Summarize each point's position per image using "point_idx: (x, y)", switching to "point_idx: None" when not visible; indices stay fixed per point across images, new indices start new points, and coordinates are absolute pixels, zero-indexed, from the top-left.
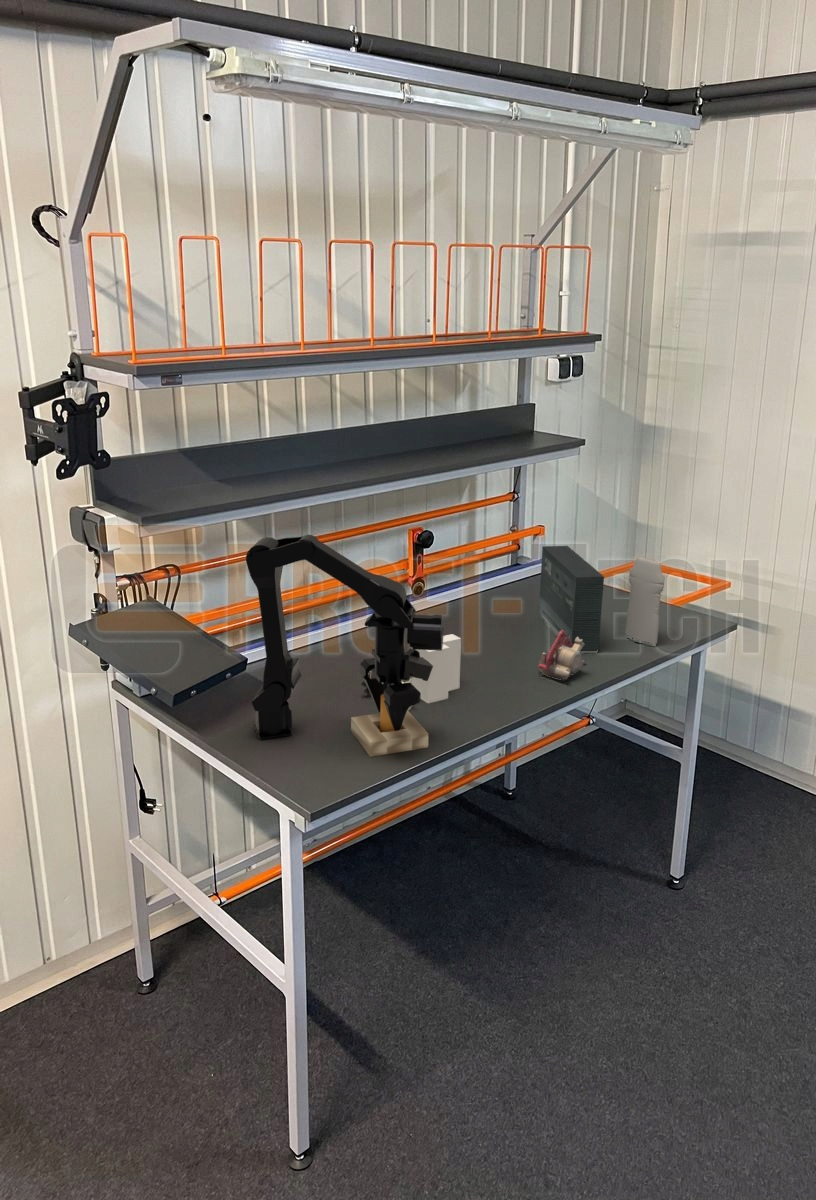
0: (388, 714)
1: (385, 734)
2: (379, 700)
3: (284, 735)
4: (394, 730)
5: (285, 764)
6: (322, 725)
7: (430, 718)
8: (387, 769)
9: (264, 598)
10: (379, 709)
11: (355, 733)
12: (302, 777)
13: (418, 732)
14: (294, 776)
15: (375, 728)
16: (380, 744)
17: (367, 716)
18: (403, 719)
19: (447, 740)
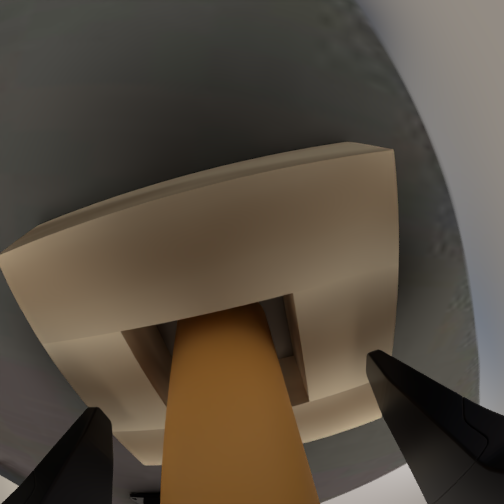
0: (415, 474)
1: (333, 385)
2: (95, 477)
3: None
4: (271, 344)
5: (324, 483)
6: (124, 459)
7: (3, 99)
8: (447, 324)
9: None
10: (109, 433)
11: None
12: (385, 456)
13: (366, 216)
14: (375, 464)
15: None
16: None
17: (125, 433)
18: (442, 386)
19: (277, 19)
